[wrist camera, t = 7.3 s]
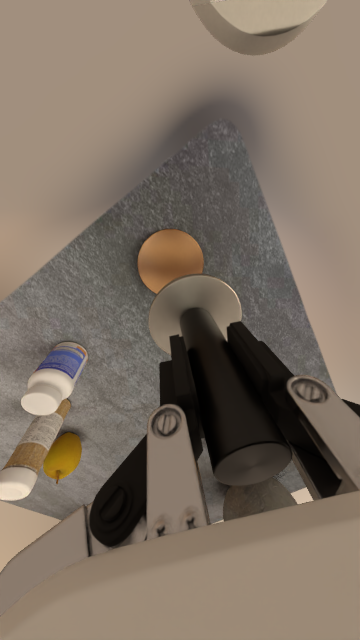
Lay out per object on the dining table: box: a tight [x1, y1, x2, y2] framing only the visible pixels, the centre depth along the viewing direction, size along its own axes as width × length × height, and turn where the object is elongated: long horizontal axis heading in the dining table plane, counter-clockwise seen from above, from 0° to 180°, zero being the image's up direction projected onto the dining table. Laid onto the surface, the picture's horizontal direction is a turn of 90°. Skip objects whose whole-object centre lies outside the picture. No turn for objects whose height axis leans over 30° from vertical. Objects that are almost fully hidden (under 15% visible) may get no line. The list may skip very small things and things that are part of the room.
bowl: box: [223, 477, 298, 521], centre depth 52 cm, size 21×21×15 cm
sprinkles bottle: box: [0, 399, 71, 500], centre depth 29 cm, size 5×5×14 cm
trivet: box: [138, 229, 204, 294], centre depth 25 cm, size 9×9×1 cm
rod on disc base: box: [149, 274, 293, 486], centre depth 10 cm, size 7×7×10 cm
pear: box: [43, 432, 82, 484], centre depth 36 cm, size 6×6×8 cm
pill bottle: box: [21, 342, 88, 415], centre depth 26 cm, size 5×5×10 cm
